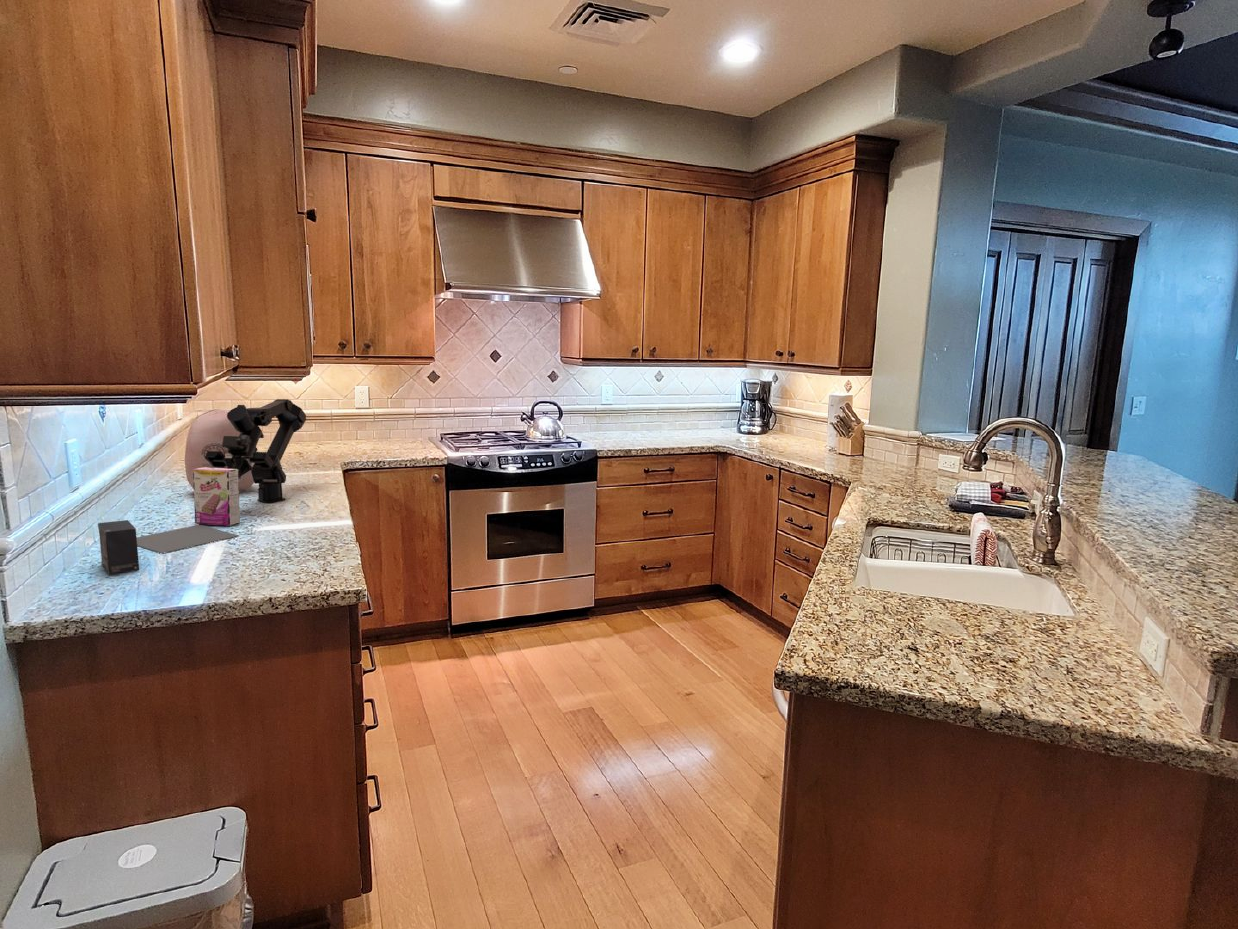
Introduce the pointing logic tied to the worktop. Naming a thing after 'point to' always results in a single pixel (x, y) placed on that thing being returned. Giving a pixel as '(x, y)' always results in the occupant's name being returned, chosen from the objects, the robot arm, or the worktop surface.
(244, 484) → the packaged food
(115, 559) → the small box
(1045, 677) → the worktop surface
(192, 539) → the mat
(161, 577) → the worktop surface
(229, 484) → the candy bar box
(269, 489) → the robot arm
